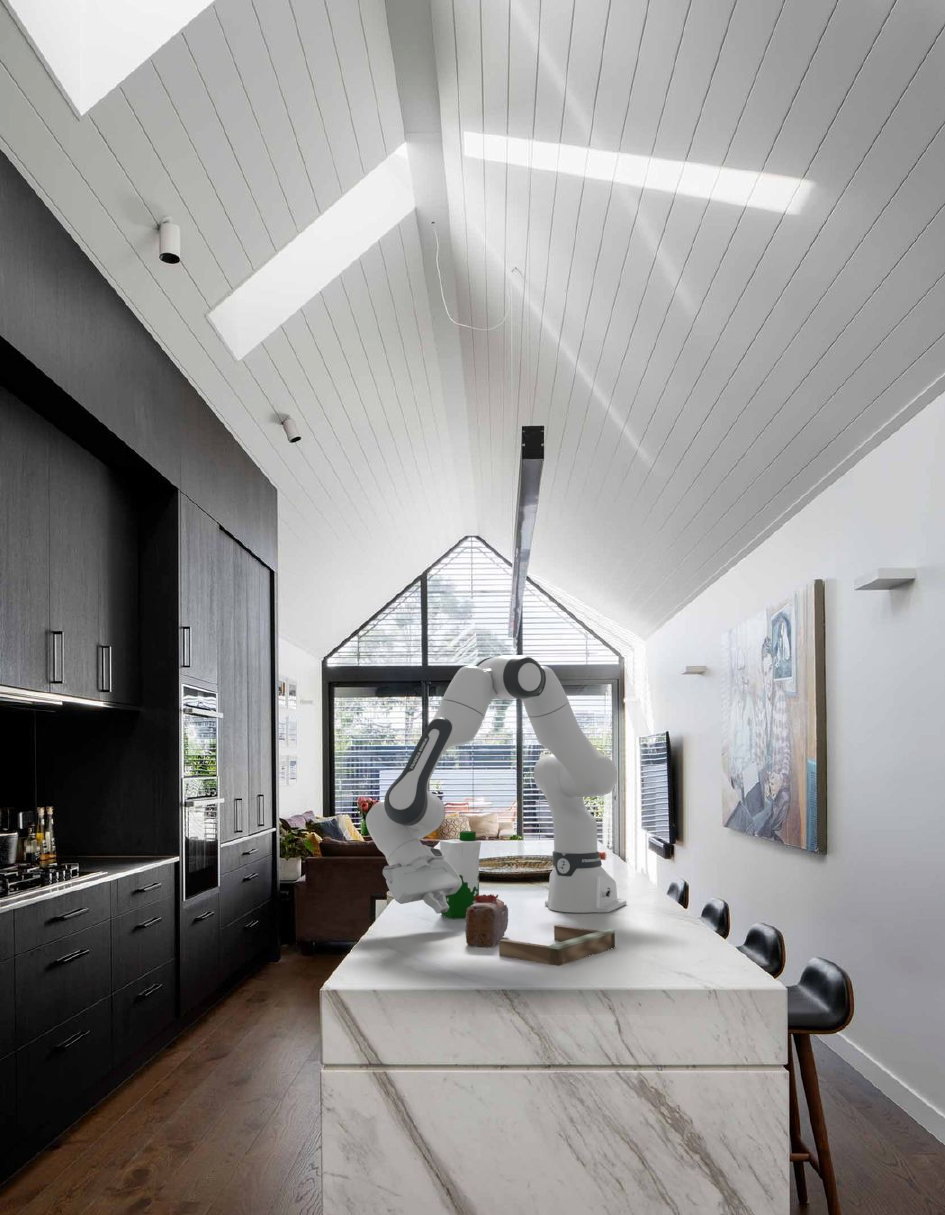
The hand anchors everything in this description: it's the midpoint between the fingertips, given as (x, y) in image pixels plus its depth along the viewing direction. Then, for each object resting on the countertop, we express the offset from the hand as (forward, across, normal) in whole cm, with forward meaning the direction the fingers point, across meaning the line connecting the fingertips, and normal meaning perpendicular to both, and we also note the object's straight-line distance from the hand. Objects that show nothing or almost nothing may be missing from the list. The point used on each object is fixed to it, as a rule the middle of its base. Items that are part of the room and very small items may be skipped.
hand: (443, 911), depth 218 cm
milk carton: (-5, +20, +12) cm, 24 cm away
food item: (+12, 0, -5) cm, 13 cm away
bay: (+25, 0, -18) cm, 31 cm away
